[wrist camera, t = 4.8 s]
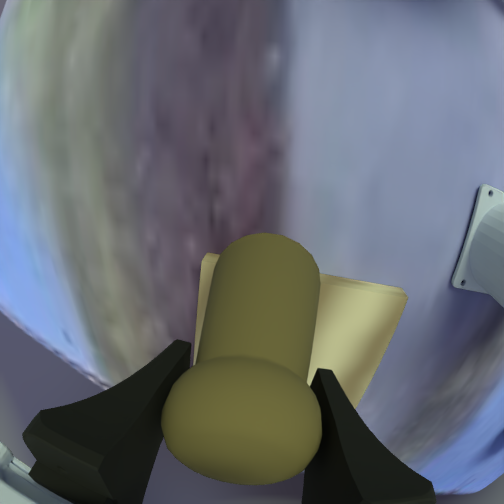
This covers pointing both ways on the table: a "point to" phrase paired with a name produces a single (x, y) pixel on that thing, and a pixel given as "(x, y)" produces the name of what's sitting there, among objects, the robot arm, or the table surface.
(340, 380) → the birch base board
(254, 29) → the table surface
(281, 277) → the cork
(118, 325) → the table surface
